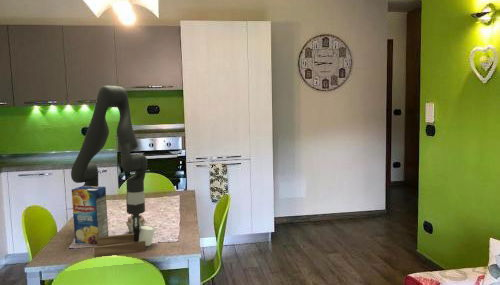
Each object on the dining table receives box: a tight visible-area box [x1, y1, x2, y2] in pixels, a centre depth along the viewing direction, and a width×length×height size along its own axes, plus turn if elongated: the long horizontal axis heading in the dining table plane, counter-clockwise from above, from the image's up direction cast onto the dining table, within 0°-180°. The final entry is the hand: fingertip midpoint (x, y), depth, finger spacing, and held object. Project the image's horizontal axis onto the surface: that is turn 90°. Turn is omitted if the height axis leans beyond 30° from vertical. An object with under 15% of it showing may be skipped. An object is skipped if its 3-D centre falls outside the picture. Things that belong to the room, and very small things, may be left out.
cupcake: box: [125, 213, 147, 234], centre depth 189 cm, size 9×9×10 cm
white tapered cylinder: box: [138, 225, 156, 247], centre depth 171 cm, size 7×7×7 cm
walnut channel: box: [93, 233, 147, 257], centre depth 169 cm, size 13×20×4 cm, turn 105°
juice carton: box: [71, 185, 109, 246], centre depth 177 cm, size 12×8×24 cm, turn 76°
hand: (136, 240), depth 170 cm, fingers closed
